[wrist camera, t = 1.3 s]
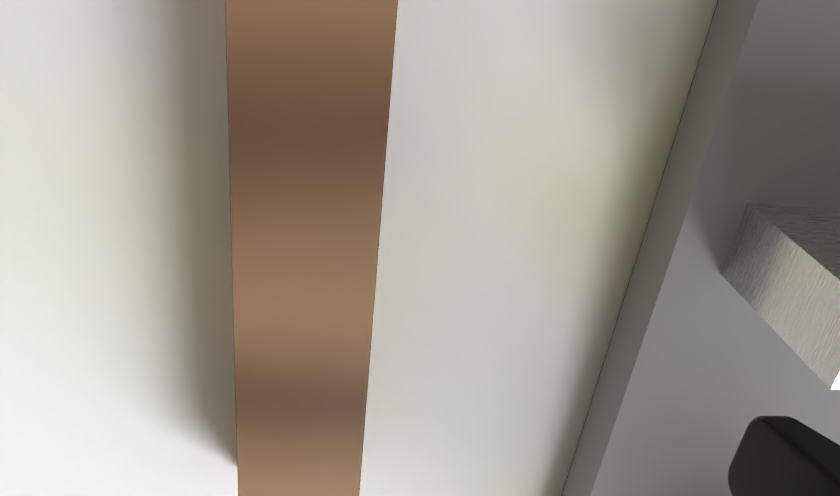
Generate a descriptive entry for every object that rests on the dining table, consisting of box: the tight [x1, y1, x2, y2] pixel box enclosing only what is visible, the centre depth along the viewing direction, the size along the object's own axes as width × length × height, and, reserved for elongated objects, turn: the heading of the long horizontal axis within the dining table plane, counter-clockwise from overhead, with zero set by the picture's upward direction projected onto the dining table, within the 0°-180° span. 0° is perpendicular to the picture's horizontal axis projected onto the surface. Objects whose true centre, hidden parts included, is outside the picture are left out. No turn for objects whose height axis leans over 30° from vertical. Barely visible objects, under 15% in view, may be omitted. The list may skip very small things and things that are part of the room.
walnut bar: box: [225, 0, 398, 496], centre depth 16 cm, size 22×3×3 cm, turn 173°
